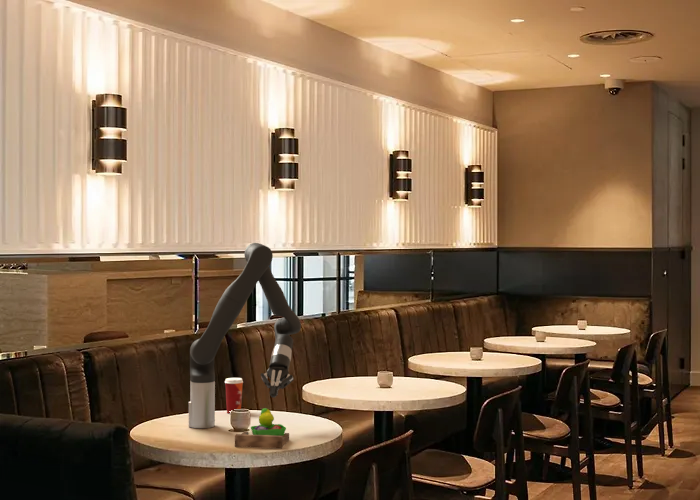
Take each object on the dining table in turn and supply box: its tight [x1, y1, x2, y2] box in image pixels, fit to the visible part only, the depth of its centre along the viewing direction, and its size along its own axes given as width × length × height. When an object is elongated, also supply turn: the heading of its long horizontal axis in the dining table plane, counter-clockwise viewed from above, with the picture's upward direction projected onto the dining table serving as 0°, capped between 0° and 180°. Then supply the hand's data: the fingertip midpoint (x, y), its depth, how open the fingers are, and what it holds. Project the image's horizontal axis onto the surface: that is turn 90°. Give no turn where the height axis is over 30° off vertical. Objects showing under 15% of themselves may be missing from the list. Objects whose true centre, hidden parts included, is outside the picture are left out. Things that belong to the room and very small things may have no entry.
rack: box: [234, 430, 290, 449], centre depth 340 cm, size 16×14×4 cm
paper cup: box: [224, 377, 244, 415], centre depth 395 cm, size 8×8×14 cm
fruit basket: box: [250, 407, 287, 436], centre depth 344 cm, size 11×9×11 cm
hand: (273, 396), depth 358 cm, fingers closed
